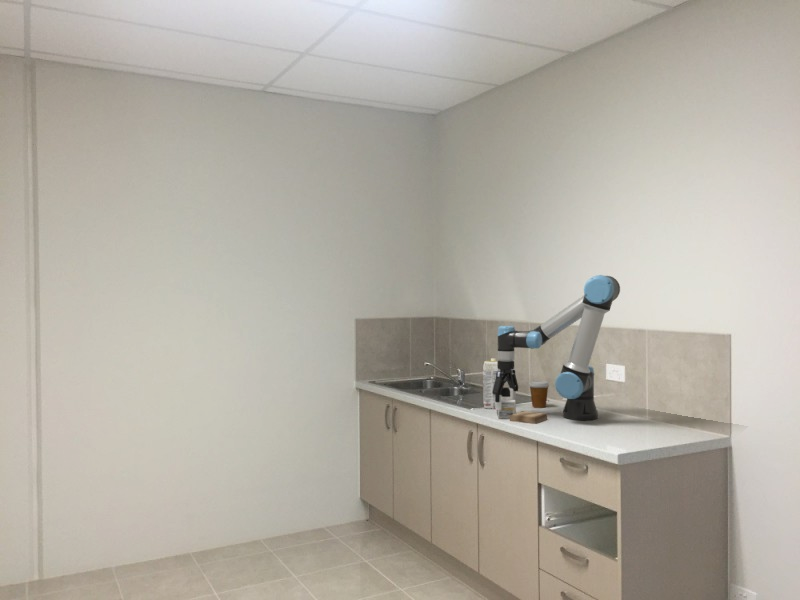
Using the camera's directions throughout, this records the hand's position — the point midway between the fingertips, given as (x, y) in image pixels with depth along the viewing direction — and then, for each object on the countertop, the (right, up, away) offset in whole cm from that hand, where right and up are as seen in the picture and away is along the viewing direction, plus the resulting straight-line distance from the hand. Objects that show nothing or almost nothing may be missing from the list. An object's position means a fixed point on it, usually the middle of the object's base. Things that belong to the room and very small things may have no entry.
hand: (505, 407), depth 315 cm
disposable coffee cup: (+20, -4, +25) cm, 32 cm away
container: (0, -4, 0) cm, 4 cm away
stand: (+9, -4, -9) cm, 13 cm away
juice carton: (-2, -4, +23) cm, 24 cm away
